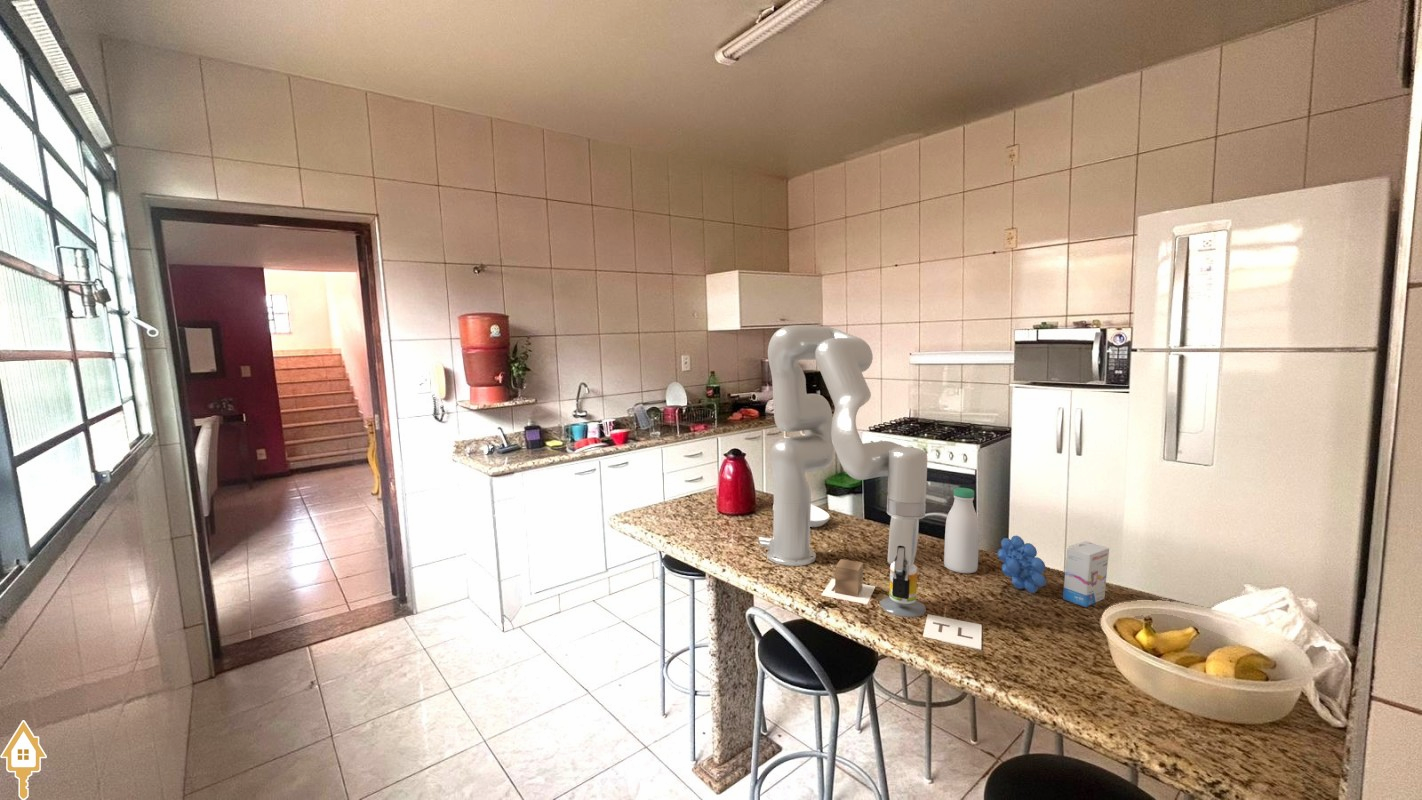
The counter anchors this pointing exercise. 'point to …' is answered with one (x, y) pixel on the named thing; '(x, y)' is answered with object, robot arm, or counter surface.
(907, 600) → the supplement bottle
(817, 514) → the spoon rest
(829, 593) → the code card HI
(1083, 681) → the counter surface
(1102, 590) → the ink box
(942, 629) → the card
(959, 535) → the milk bottle
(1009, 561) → the grapes
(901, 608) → the gray round coaster
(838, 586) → the walnut block
